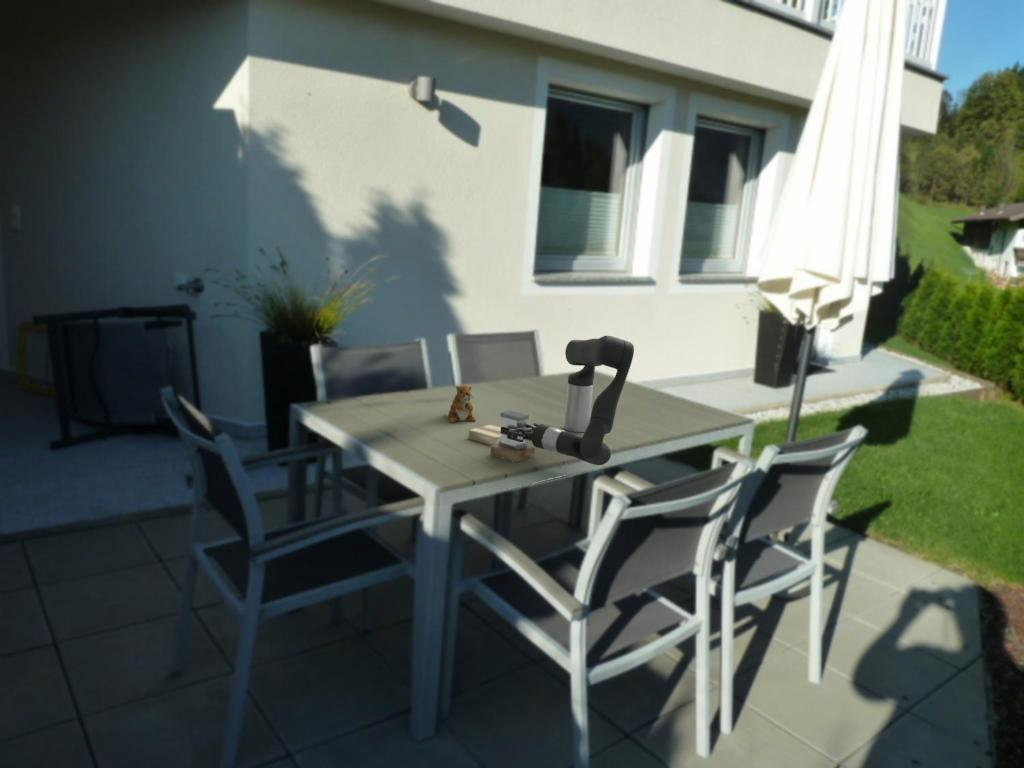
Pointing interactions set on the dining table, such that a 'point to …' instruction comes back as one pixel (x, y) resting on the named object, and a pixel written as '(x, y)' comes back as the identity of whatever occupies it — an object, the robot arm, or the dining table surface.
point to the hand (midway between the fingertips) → (509, 427)
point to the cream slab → (486, 434)
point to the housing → (513, 422)
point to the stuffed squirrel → (461, 405)
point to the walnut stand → (512, 453)
